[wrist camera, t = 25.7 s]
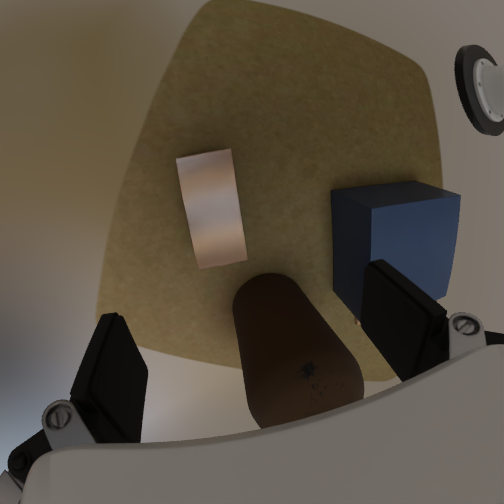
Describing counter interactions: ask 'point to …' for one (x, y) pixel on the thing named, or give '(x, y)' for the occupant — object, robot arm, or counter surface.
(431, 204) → the blue drawer box
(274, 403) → the olive oil
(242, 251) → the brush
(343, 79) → the counter surface
